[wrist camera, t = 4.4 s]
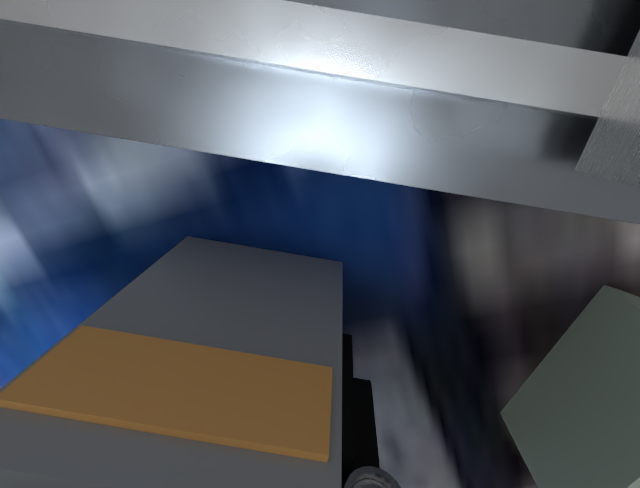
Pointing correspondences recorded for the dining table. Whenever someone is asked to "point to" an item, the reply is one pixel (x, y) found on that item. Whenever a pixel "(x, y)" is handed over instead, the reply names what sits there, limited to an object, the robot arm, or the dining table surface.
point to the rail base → (352, 88)
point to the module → (189, 380)
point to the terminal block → (585, 401)
